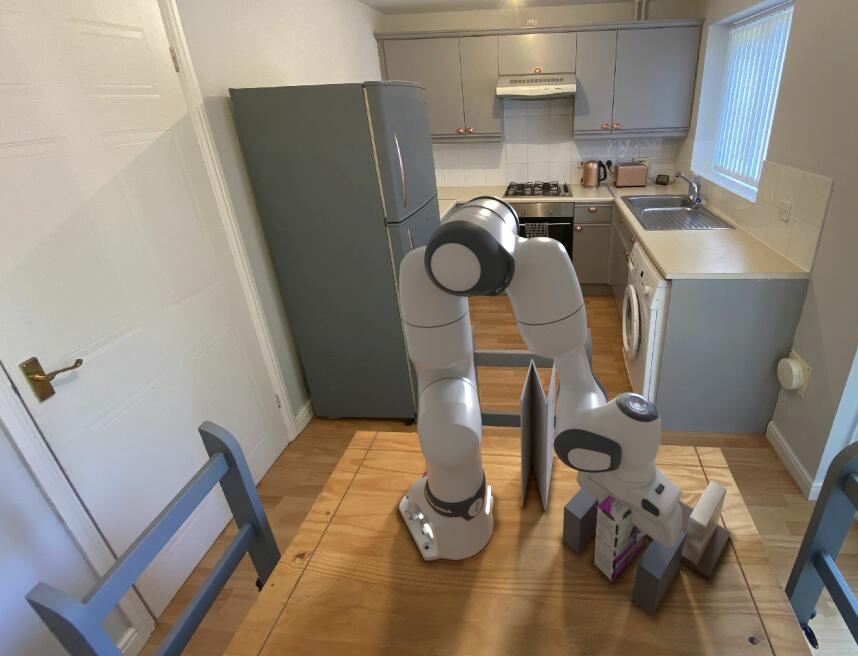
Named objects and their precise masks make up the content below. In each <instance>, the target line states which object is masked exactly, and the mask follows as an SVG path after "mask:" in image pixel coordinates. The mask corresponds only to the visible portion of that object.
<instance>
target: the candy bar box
mask: <svg viewBox="0 0 858 656" xmlns="http://www.w3.org/2000/svg"><path fill="white" fill-rule="evenodd" d="M630 520H631V510H630V509H629V508H628V507H626V506H625V505H624V504H622V503H621V502H619V501H618V500H616V499H615V498H613V497H611V496H610V495H609V496H608V497H607V498H606V499H605V500H604V501H603V502H601V503H600V504H599V505H598V506H597V522H596V532H595V538H594V557H593V565H594V566H595V567H596V568H597V569H598V570H600V571H601V572H602V573H603V574H604V575H605V576H606V577H607V578H608V579H609V580H610V581H611V582H612V583H614V581H615V580H616V579H617V577H619V575H620V574H621V573H622V572H623V570H624V569H625V568H626V567H627V566H628V564H629V563H630V562H631V561H632V560H633V559H634V558H635V556H636V555H637V554H639V552H640V551H641V549H642V548H643V547H644V546H645V545H646V538H647V537H646V535H644V536H643V537H642V539H641V540H640V542H638V541H636V540H635V539H634V538H632V532H633V530H634V529H635V527H636V526H635V525H633V524H632V523H631V522H630Z"/></svg>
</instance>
